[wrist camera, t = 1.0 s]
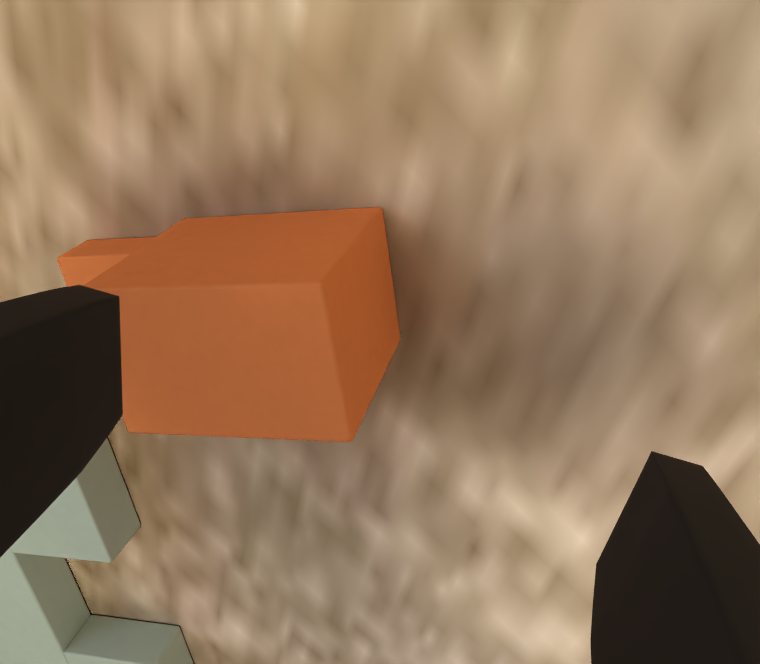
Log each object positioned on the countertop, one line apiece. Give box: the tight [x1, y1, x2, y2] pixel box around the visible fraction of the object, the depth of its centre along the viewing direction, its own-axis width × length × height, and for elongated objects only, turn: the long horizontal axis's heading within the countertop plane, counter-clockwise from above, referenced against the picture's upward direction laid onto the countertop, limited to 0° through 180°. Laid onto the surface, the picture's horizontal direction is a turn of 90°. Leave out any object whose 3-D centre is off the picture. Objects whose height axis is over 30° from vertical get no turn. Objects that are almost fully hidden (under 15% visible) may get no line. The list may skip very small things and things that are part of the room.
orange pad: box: [57, 207, 400, 442], centre depth 18 cm, size 4×10×5 cm, turn 98°
